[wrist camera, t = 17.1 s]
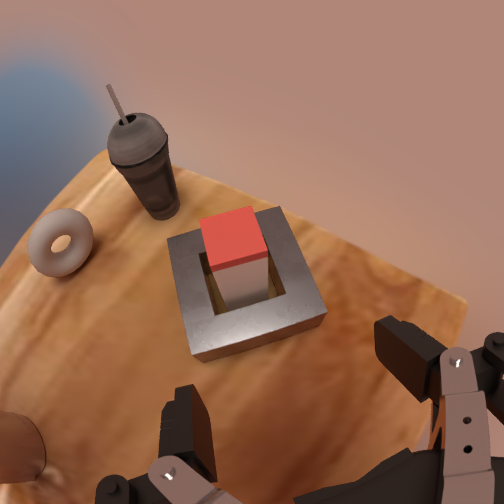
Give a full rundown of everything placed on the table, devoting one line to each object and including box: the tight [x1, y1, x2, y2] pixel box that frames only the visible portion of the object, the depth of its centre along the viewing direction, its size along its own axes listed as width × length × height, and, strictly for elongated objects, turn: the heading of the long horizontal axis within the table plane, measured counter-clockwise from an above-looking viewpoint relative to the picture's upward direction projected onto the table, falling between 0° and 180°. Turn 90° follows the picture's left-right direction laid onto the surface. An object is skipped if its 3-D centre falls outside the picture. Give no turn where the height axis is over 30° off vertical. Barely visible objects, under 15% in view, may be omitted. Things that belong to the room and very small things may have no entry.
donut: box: [28, 208, 94, 277], centre depth 32 cm, size 10×4×10 cm, turn 139°
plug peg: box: [199, 206, 268, 312], centre depth 28 cm, size 4×4×12 cm
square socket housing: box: [167, 206, 328, 363], centre depth 31 cm, size 13×13×5 cm
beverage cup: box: [106, 84, 180, 220], centre depth 31 cm, size 7×7×20 cm
